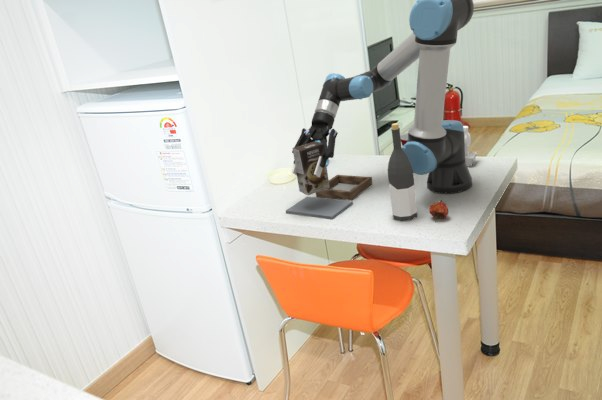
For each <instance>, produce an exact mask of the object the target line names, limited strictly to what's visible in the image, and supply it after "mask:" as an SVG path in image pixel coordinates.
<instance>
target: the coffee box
mask: <svg viewBox="0 0 602 400" xmlns="http://www.w3.org/2000/svg"><path fill="white" fill-rule="evenodd" d="M323 148H324V145H323V144H322V143H318V142H311V143H307V144H304V145H301V146H297V147H295V146H293V147H292V151H293V153H292V155H293V159H294V160H293V162H294V161H295V167H296V173H297V175H296V178H297V184H298V191H299V192H300V193H302V194H304V195H306V196H310V195H313V194H316V193H317V192H319V191H322V190H325V189H328V188H330V186H329V180H330V179H329V175H328V168H327V167H328V166H326V165H325V167H324V168H323V169H322V172H321V175H320V177H317V176H316V175H315V174H314V172H315V169H316V166H317V163H318V159H319V156H322V149H323Z"/></svg>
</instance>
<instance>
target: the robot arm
mask: <svg viewBox="0 0 602 400" xmlns="http://www.w3.org/2000/svg"><path fill="white" fill-rule="evenodd" d="M474 5H475V4H474V1H473V0H417V1H415V3H414V4H413V6H412V7H411V10H410V11H409V17H408V21H409V27H410V29H411V31H412V33H411V34H410V35H409V36H408V37H407V38H406V39H404V40H403V41H402V42H401V43H400V44H398V46H396V47H395V48H394V49H393V50H392V51H390V53H388V54H387V55H386V56H385V57H384V58H383V59H382V60H381V61H379V62H378V63H377V64H376V65H375V66H374V67H373V68H372V69H371V70H368V71H366V72H363V73H360V74H357V75H355V76H352V77H347V78H346V77H344V75H342V74H340V73H332V72H331V73H329V74H328V75H327V76H326V77H325V80H324V82H323V85H322V89H321V92H320V95H319V98H318V101H317V103H316V107H315V109H314V114H313V116H312V118H311V125H310V127H309V128H308V129H306V128H302V129H301V133H300V135H299V137H298V139H297V141H296V143H295V145H294V147H297V146H301V145H304V144H307V143H311V142H315V141H318V140H319V141H320V143H322V144H323V145H324V148H323V149H322V156H319V159H318V163H317V166H316V169H315V172H314V174H315V175H316V176H317V177H320V175H321V172H322V169H323V168H324V167H325V165H326V162H327V159H333V158H334V156H335V146H336V139H337V137H338V136H337V135H338V134H339V132H337V130H336V129H335V128H333V127H334V123H335V119H336V116H337V114H338V110H339V107H340V104H341V102H346V101H353V100H363V99H366V98H369V97H371V95H372V93H376V92H378V91H381V90H384V89H385V88H387V87H389V86H390V85H391V84H392V81H393V80H394V79H395V78H396V77H398V76H399V75H400V74H401V73H403V72H404V71H405V70H406V69H407V68H408V67H410V66H412V64H413V63H415V62H416V61H417V60H418V67H417V80H416V81H417V83H416V93H415V106H414V107H415V108H414V117H413V118H414V119H413V120H414V121H413V125H412V126H410V128H409V129H408V132H407V133H408V142H407V143H406V144H404V146H401V148H402V149H403V151H404V152H405V154H406V155H407V157H408V159H409V161H410V163H411V166H412V170H413V175H414V174H415V175H419V176H423V175H427V174H428V175H427V179H426V187H427V189H428V191H431V192H433V193H436V194H437V193H438V194H455V193H456V194H457V193H460V192H461V193H462V192H464V191H466V190H469V189H470V188H471V187H472V186H473V177H472V175H471V173H470V170H469V167H468V166H467V165H466V161H465V142H464V129H463V126H464V124H463V122H462V121H459V120H453V119H447V120H445V119H444V109H445V101H446V100H445V99H446V92H447V82H448V72H449V64H450V55H451V49H452V47H454V46H455V45H456V44H457V41H458V32H459V31H460V30H461V29H463V28H465V27H466V26H467V25H468V24H469V23H470V22H471V19H472V17H473V15H474V10H475V6H474ZM327 146H328V149H327ZM291 153H292V154H293V150H292V151H291ZM292 167H293V168H292V171H291V173H292V174H294V175H295V176H297V173H296V167H295V161H294V160H293V166H292Z"/></svg>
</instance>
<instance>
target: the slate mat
mask: <svg viewBox="0 0 602 400" xmlns="http://www.w3.org/2000/svg"><path fill="white" fill-rule="evenodd" d="M352 205H354V202H353V200H343V199H334V198H324V197H316V196H315V197H314V196H313V197H312V196H305V197H304V198H302V199H301V200H300V201H298V202H296V203H295V204H294V205H292V206H290V207H288V208H287V209H286V210H285V213H286V214H289V215H296V216H303V217H312V218H319V219H327V220H335V218H337V217H338V216H339V215H341V214H342V213H343V212H344V211H346V210H348V208H349V207H351V206H352Z"/></svg>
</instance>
